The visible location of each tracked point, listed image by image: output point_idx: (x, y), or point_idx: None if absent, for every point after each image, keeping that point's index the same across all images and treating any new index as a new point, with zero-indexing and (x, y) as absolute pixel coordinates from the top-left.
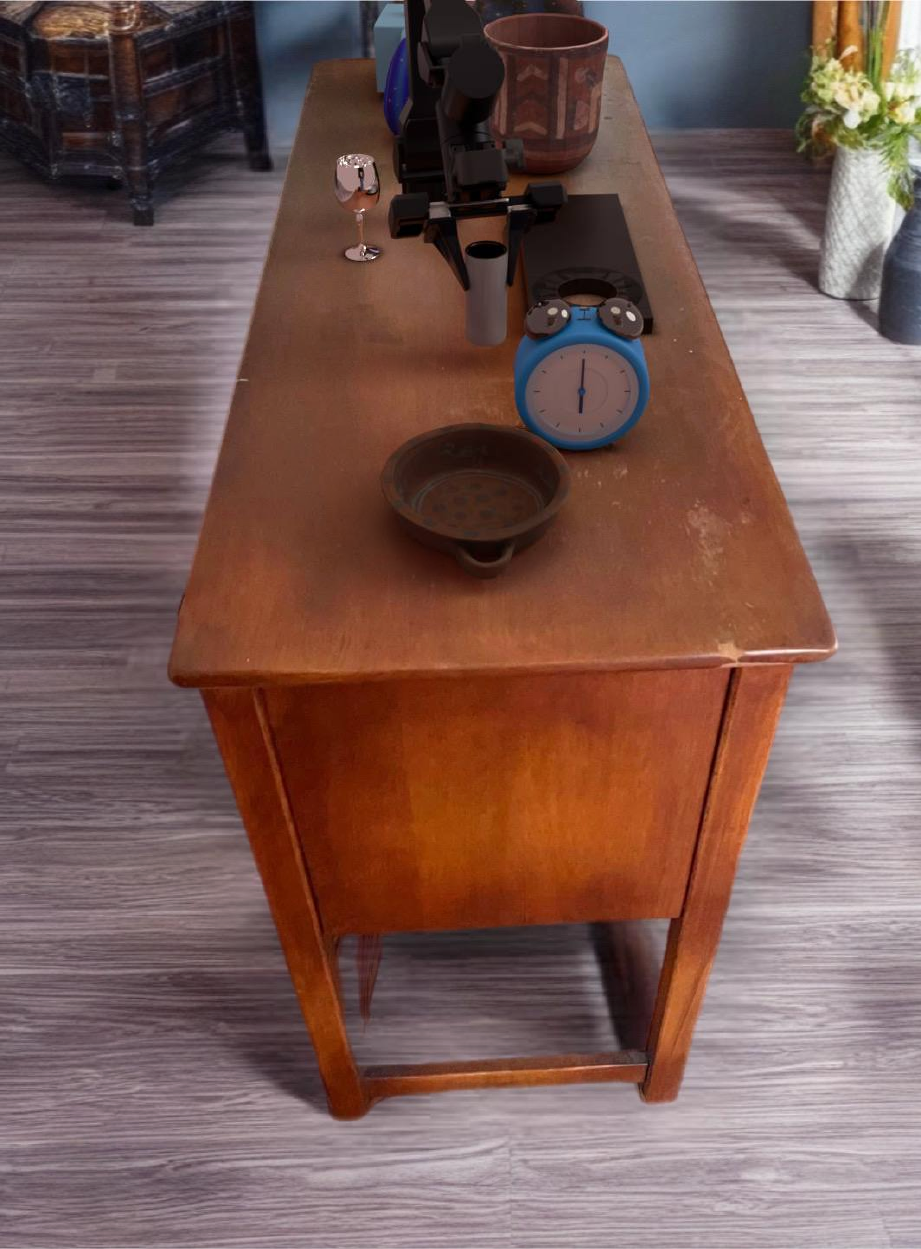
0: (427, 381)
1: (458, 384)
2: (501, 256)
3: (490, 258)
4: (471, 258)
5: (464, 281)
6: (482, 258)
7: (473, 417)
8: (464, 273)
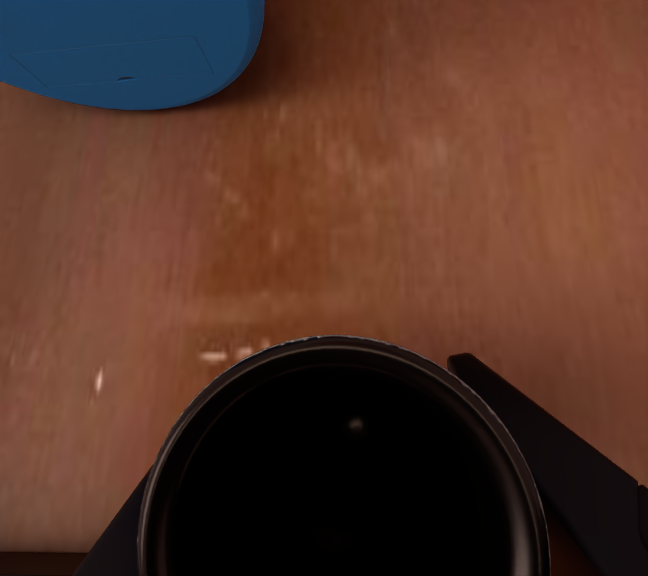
0: (520, 296)
1: (432, 280)
2: (199, 395)
3: (296, 349)
4: (469, 389)
5: (481, 373)
6: (368, 348)
7: (387, 128)
8: (494, 406)
